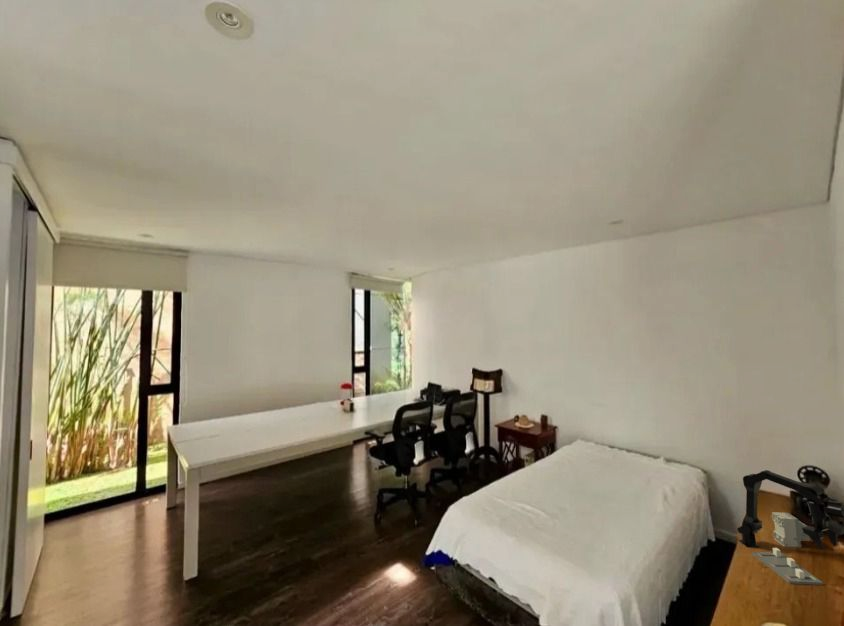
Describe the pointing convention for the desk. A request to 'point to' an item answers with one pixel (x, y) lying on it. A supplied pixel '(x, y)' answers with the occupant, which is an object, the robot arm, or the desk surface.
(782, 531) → the circuit breaker
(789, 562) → the handle middle
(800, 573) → the handle
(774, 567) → the plate
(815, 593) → the desk surface
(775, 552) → the handle left
